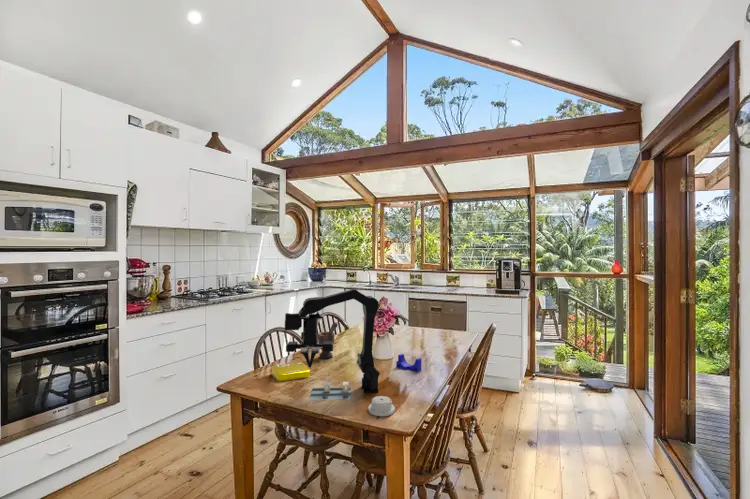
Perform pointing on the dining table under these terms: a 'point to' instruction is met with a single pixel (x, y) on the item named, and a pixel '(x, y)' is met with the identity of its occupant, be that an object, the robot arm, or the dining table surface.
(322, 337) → the mortar and pestle
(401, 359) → the blue u-shaped bracket
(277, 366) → the element tile
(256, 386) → the dining table surface
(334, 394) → the board
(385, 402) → the mechanical component
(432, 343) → the dining table surface
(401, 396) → the dining table surface
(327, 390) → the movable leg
